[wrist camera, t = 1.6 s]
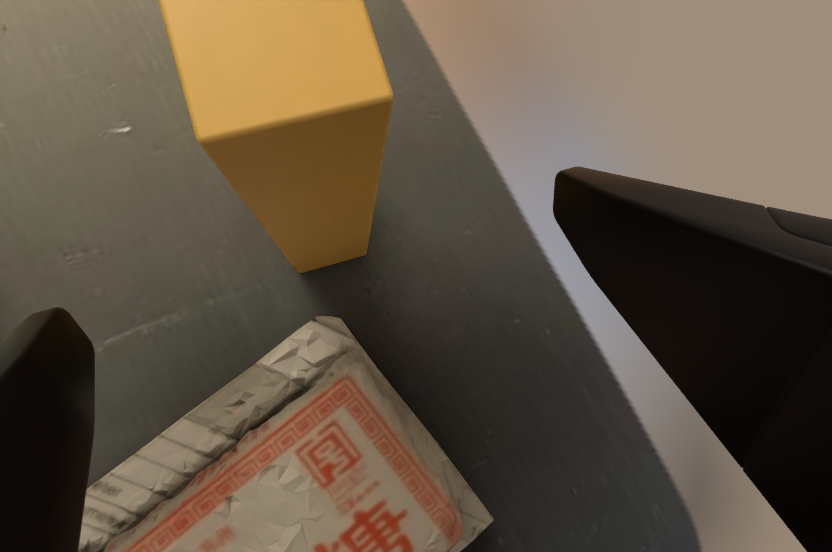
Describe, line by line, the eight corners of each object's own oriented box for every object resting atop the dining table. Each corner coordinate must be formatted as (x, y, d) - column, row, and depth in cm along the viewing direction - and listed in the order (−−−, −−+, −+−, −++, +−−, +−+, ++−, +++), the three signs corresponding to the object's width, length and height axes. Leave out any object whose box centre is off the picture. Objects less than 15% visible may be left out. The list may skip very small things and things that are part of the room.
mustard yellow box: (367, 255, 20) (395, 97, 7) (298, 274, 19) (196, 143, 7) (333, 144, 20) (303, -194, 7) (265, 160, 20) (110, -170, 7)
